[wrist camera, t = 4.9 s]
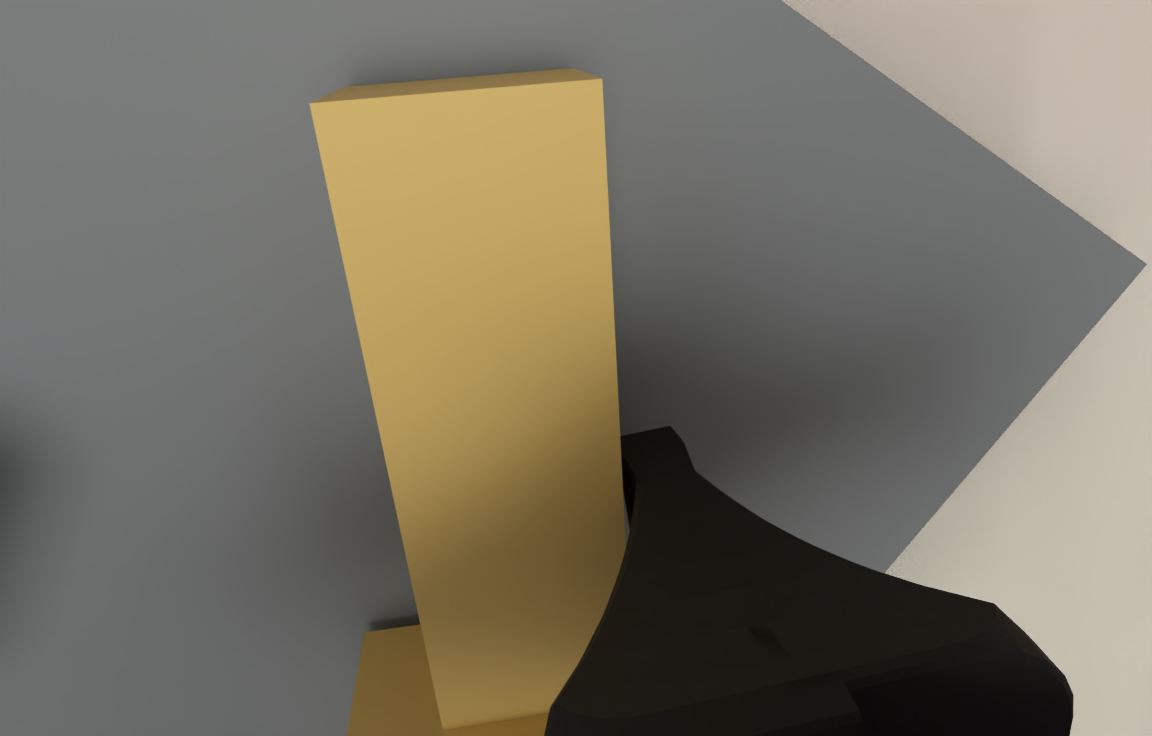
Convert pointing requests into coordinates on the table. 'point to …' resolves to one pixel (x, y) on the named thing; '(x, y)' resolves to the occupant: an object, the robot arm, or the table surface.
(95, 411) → the base
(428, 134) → the link
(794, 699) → the robot arm
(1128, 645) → the table surface
